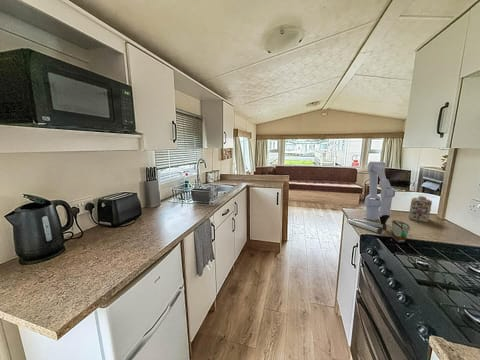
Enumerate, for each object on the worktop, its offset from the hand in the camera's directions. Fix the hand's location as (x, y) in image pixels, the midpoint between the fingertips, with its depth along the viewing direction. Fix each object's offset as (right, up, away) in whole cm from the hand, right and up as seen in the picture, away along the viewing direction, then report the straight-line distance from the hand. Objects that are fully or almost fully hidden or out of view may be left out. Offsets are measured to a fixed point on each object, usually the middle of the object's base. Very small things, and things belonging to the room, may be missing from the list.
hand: (382, 224), depth 141 cm
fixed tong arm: (-14, -2, -2) cm, 15 cm away
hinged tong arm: (-9, -1, +3) cm, 10 cm away
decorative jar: (+41, 0, +19) cm, 45 cm away
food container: (-2, -5, -18) cm, 19 cm away
